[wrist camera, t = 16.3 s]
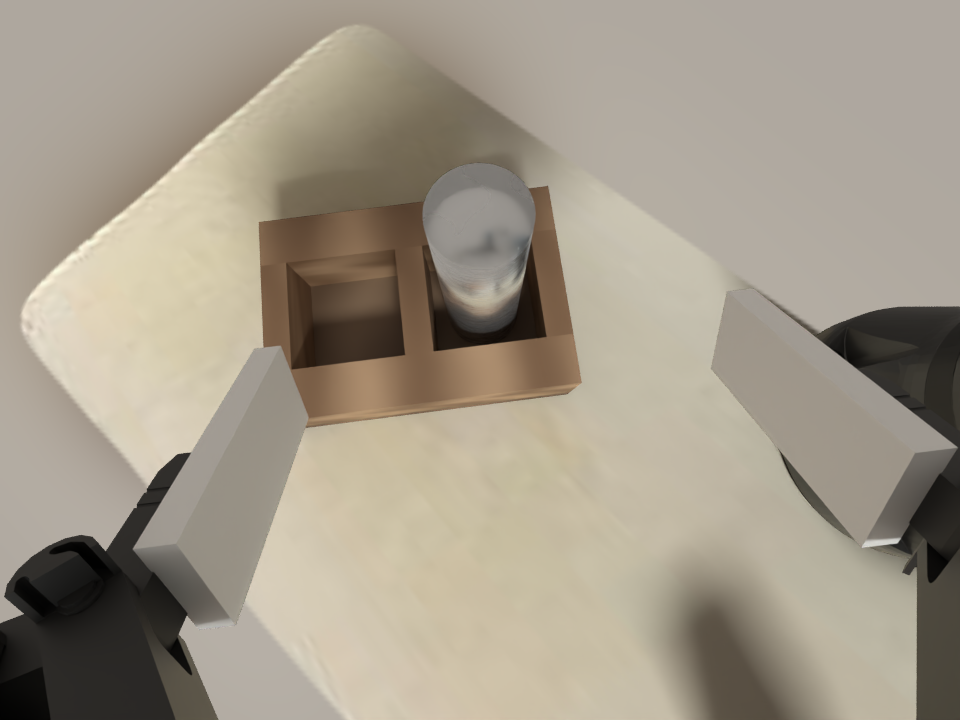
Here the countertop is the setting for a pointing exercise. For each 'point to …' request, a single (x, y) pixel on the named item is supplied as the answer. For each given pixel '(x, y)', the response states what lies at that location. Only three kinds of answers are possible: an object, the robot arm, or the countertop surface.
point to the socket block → (403, 318)
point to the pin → (480, 246)
